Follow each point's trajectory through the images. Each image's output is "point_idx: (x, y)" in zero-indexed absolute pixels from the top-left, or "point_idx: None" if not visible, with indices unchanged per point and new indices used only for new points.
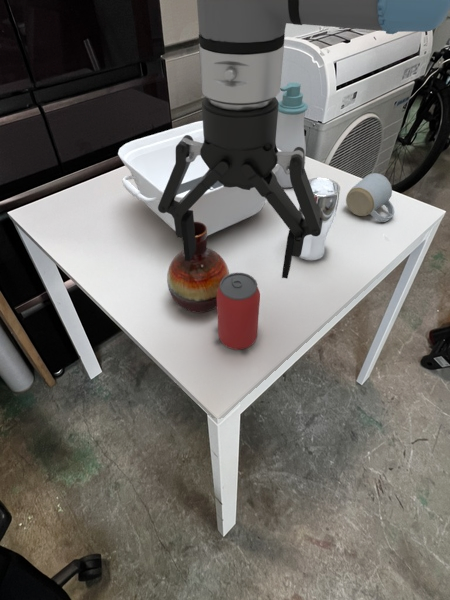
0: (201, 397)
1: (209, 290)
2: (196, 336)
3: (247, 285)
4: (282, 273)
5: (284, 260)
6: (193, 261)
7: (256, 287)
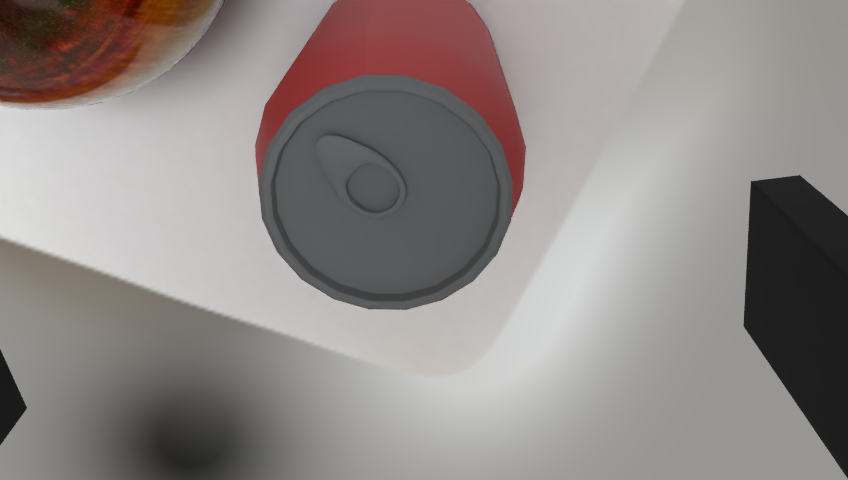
0: (392, 365)
1: (171, 46)
2: (232, 143)
3: (439, 168)
4: (761, 351)
5: (826, 442)
6: None
7: (508, 183)
